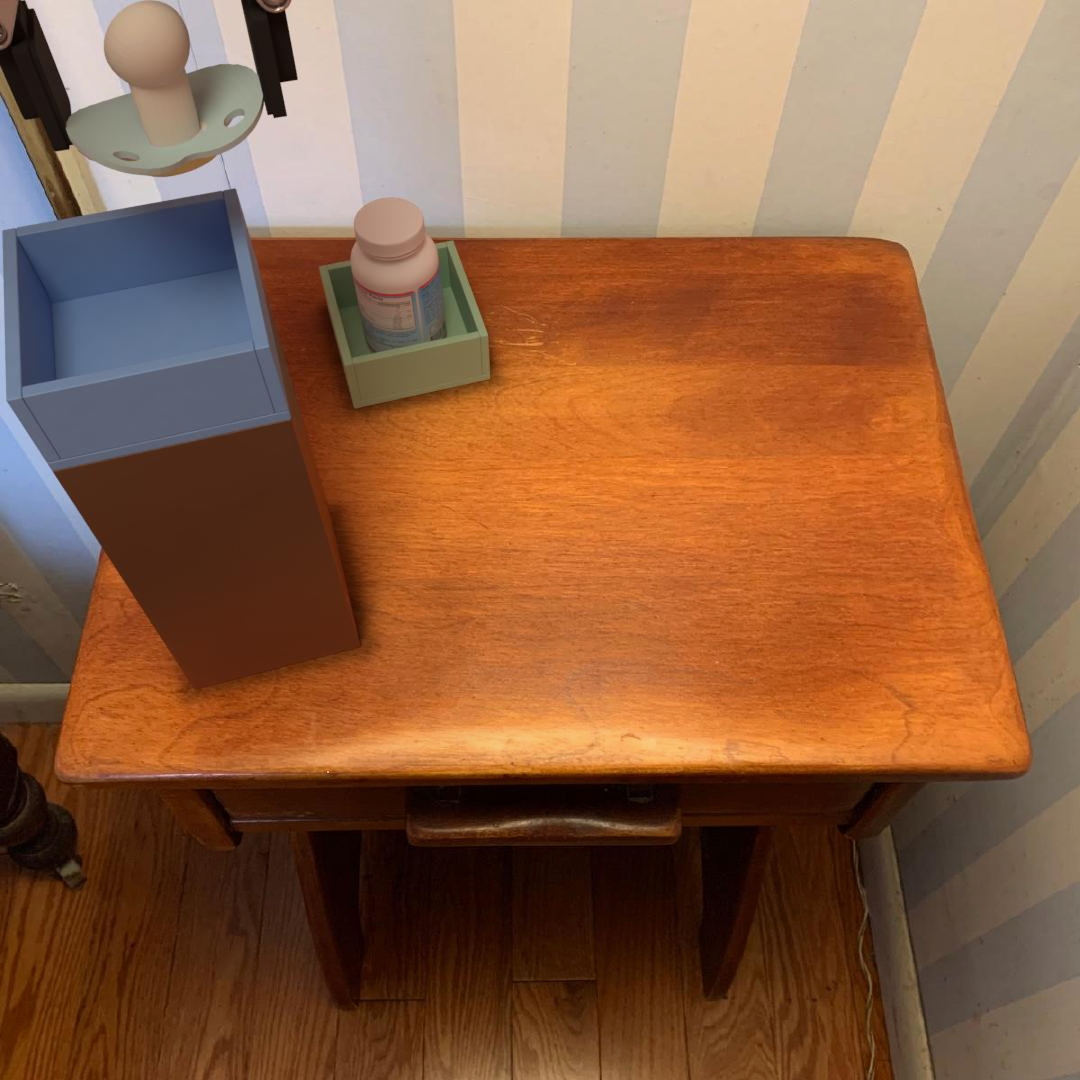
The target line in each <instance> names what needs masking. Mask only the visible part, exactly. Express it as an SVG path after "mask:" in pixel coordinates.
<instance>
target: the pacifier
mask: <svg viewBox="0 0 1080 1080" xmlns="http://www.w3.org/2000/svg"><path fill="white" fill-rule="evenodd" d="M190 41H191V39H190V35H189V30H188V27H187V25H186V23H185V20H184V19H183V17H182V16H181V15H180V13H179V12H178V11H177V10H176V9H175V8H174V7H173V6H171V5H169V4H168V3H166V2H163V1H160V0H140V1H136V2H134V3H131V4H129V5H127V6H125V7H124V8H122V9H121V10H120V11H118V13H116V15H115V16H113V18H112V19H111V21H110V23H109V25H108V26H107V29H106V31H105V34H104V38H103V53H104V58H105V60H106V63H107V65H108V66H109V67H110V69H111V70H112V71H113V73H114V74H115V75H116V76H117V77H119V78H120V79H121V80H122V81H124V82H125V83H127V85H128V87H129V90H130V92H129V93H126V94H122V95H118V96H115V97H112V98H110V99H105V100H102V101H100V102H97V103H94V104H90V105H88V106H86V107H83V108H79V109H78V110H76V111H74V112H71V116H70V117H69V118H68V121H67V122H66V131H67V134H68V136H69V139H70V140H71V142H72V143H73V145H72V146H74V147H75V148H76V150H77V151H78V153H80V154H81V155H83V157H85V158H86V159H88V160H90V161H92V162H95V163H97V164H98V165H101V166H103V167H105V168H107V169H110V170H114V171H117V172H119V173H120V172H121V173H124V174H129V175H136V176H146V177H152V178H153V177H154V178H168V177H169V178H170V177H176V176H179V175H183V174H186V173H190V172H193V171H195V170H197V169H199V168H202V167H203V166H205V165H207V164H209V163H211V161H213V160H214V159H215V158H216V157H218V155H221V154H223V153H226V152H229V151H230V150H232V149H234V148H235V147H237V146H238V145H240V144H241V143H243V142H244V141H245V140H246V139H247V137H249V136H250V135H251V133H252V132H253V131H254V130H255V128H256V127H257V125H258V124H259V121H260V119H261V117H262V114H263V111H264V107H265V103H264V97H263V93H262V89H261V85H260V81H259V77H258V74H257V72H256V71H255V70H254V69H253V68H250V67H249V66H247V65H242V64H237V63H235V64H232V63H219V64H216V65H211V66H206V67H202V68H199V69H196V70H193V71H190V72H187V70H186V65H187V64H188V60H189V56H190V52H191V51H190V50H191V42H190ZM237 117H243V118H242V119H241V120H240V121H239V122H238V123H236V124H234V125H232V126H229V125H230V124H231V122H232V121H233V119H235V118H237Z"/></svg>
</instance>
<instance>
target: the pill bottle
mask: <svg viewBox="0 0 1080 1080" xmlns="http://www.w3.org/2000/svg"><path fill="white" fill-rule="evenodd" d="M353 229H354V238H355V242H354V244H353V247H352V249H351V252H350V259H349V260H350V261H351V270H352V275H353V280H354V284H355V289H356V294H357V299H358V304H359V309H360V314H361V319H362V324H363V329H364V334H365V339H366V342H367V345H368V347H369V349H370V350H371V351H372V353H377V352H382V351H387V350H391V349H396V348H401V347H406V346H410V345H415V344H420V343H425V342H429V341H434V340H439V339H444V338H446V335H447V331H446V320H445V311H444V302H443V293H442V284H441V275H440V266H439V258H438V252H437V248H436V246H435V244H436V243H435V242H434V240H433V238H432V237H431V236H430V235H429V234H428V233H427V232H426V226H425V219H424V214H423V212H422V210H421V208H419V206H418V205H416V203H414V202H412V201H410V200H408V199H405V198H401V197H394V196H393V197H381V198H378V199H377V198H376V199H374V200H371V201H369V202H368V203H366V204H364V205H363V206H362V207H361V208H360V209H359V210H358V211H357V212H356V214H355V216H354V220H353Z"/></svg>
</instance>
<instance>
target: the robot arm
mask: <svg viewBox="0 0 1080 1080" xmlns="http://www.w3.org/2000/svg"><path fill="white" fill-rule="evenodd" d="M240 2H241V3H240V4H241V8H242V12H243V17H244V21H245V27H246V30H247V35H248V40H249V43H250V48H251V53H252V58H253V62H254V67H255V72H256V74H258V77H259V81H260V85H261V89H262V93H263V97H264V107H265V111H266V115H267V116H271V115H272V117H273V119H278V118H285V117H288V113H287V108H286V104H285V98H284V93H283V89H282V83H286V82H295V81H298V80H299V79H298V78H299V77H298V72H297V65H296V61H295V55H294V50H293V45H292V40H291V34H290V29H289V23H288V17H287V13H286V10H287V9H288V8H289V7H290V5H291V3H292V0H240ZM41 25H42V24H41V23H40V19H39V18H38V15H37V12H36V10H35V8H29V6H28V4H27V1H26V0H0V70H1V72H2V73H3V76H4V79H5V81H6V82H7V85H8V87H9V90H10V92H11V94H12V96H13V98H14V99H13V100H14V101H15V103H16V106H17V107H18V111H19V112H20V114H21V117H22V118H23V120H24V121H28V120H35V119H39V120H40V123H41V124H42V127H43V129H44V132H45V134H46V137H47V139H48V141H49V143H50V145H51V148H52V150H53V151H54V152H62V151H70V149H71V148H70V147H71V146H74V145H73V143H72V142H71V140H70V139H69V136H68V134H67V131H66V122H67V121H68V118H69V117H70V116H71V114H72V105H71V100H70V97H69V95H68V91H67V89H66V86H65V84H64V82H63V79H62V76H61V74H60V71H59V68H58V66H57V64H56V63H57V62H56V61H55V59H54V56H53V53H52V51H51V49H50V45H49V43H48V39H47V38H46V35H45V32H44V30H43V28H42V26H41Z"/></svg>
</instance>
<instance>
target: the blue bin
mask: <svg viewBox="0 0 1080 1080" xmlns="http://www.w3.org/2000/svg"><path fill="white" fill-rule="evenodd" d="M1 232H2V233H1V234H2V235H1V237H2V271H3V272H2V273H3V277H2V278H3V313H4V314H3V318H4V320H3V323H4V358H5V359H4V361H5V395H6V396H5V401H6V402H7V404H8V406H9V408H11V411H13V413H14V414H15V416H16V418H17V419H18V421H19V422H20V424H21V425H22V427H23V429H24V430H25V431H26V434H27V435H28V436H29V437H30V440H31V441H32V443H33V444H34V445H35V447H36V449H37V451H39V453H40V455H41V456H42V458H43V459H44V461H45V462H46V464H47V465H48V467H49V468H50V470H51V471H52V473H53V475H54V476H55V478H56V479H57V481H58V482H59V484H60V485H61V487H62V489H63V490H64V492H65V493H66V495H67V496H68V498H69V500H70V501H71V502H72V504H73V506H74V507H75V508H76V510H77V512H78V514H79V515H80V516H81V517H82V519H83V521H84V522H85V524H86V525H87V527H88V528H89V530H90V531H91V533H92V535H93V536H94V538H95V540H96V541H97V543H98V544H99V545H100V547H101V549H102V550H103V551H104V553H105V554H106V556H107V557H108V559H109V561H110V562H111V564H112V565H113V567H114V568H115V569H116V571H117V573H118V574H119V575H120V577H121V579H122V581H123V582H124V584H125V585H126V587H127V588H128V590H129V591H130V593H131V594H132V596H133V597H134V599H135V601H136V602H137V604H138V606H139V607H140V609H141V610H142V612H143V613H144V614H145V616H146V617H147V620H149V622H150V624H151V625H152V627H153V628H154V630H155V631H156V633H157V634H158V636H159V638H160V639H161V640H162V642H163V643H164V645H165V646H166V648H167V650H168V652H169V653H170V654H171V656H172V657H173V659H174V661H175V662H176V664H177V665H178V667H179V668H180V670H181V671H182V673H183V674H184V676H185V677H186V679H187V681H188V682H189V683H190V685H191V687H192V688H193V689H194V690H199V689H203V688H206V687H210V686H215V685H218V684H221V683H226V682H230V681H233V680H238V679H243V678H245V677H248V676H252V675H253V676H254V675H257V674H260V673H264V672H269V671H272V670H276V669H280V668H283V667H288V666H292V665H295V664H299V663H300V664H301V663H303V662H308V661H311V660H316V659H319V658H322V657H327V656H331V655H334V654H339V653H343V652H346V651H350V650H354V649H358V648H361V642H360V638H359V632H358V630H357V629H358V627H357V625H356V620H355V615H354V611H353V608H352V603H351V598H350V594H349V590H348V585H347V580H346V575H345V571H344V568H343V564H342V559H341V554H340V550H339V546H338V541H337V537H336V532H335V528H334V524H333V520H332V515H331V512H330V509H329V506H328V502H327V498H326V494H325V491H324V488H323V484H322V481H321V477H320V474H319V471H318V467H317V464H316V460H315V457H314V456H315V455H314V453H313V450H312V446H311V442H310V439H309V436H308V433H307V429H306V426H305V422H304V418H303V416H302V412H301V409H300V404H299V402H298V398H297V395H296V391H295V388H294V384H293V380H292V378H291V374H290V370H289V367H288V363H287V360H286V357H285V353H284V350H283V345H282V343H281V339H280V336H279V333H278V329H277V325H276V322H275V319H274V315H273V311H272V308H271V304H270V301H269V298H268V295H267V291H266V288H265V284H264V281H263V277H262V274H261V270H260V266H259V262H258V260H257V257H256V253H255V250H254V246H253V243H252V239H251V235H250V232H249V228H248V225H247V222H246V219H245V215H244V211H243V207H242V204H241V201H240V197H239V194H238V191H237V188H236V187H234V188H229V189H224V190H217V191H211V192H207V193H201V194H196V195H195V194H194V195H190V196H185V197H179V198H174V199H173V198H172V199H167V200H162V201H156V202H151V203H150V202H149V203H145V204H140V205H134V206H128V207H123V208H118V209H113V210H112V209H111V210H107V211H101V212H95V213H90V214H85V215H79V216H73V217H67V218H61V219H56V220H51V221H46V222H40V223H34V224H29V225H24V226H18V227H13V228H12V227H11V228H7V229H3V230H2V231H1Z"/></svg>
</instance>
